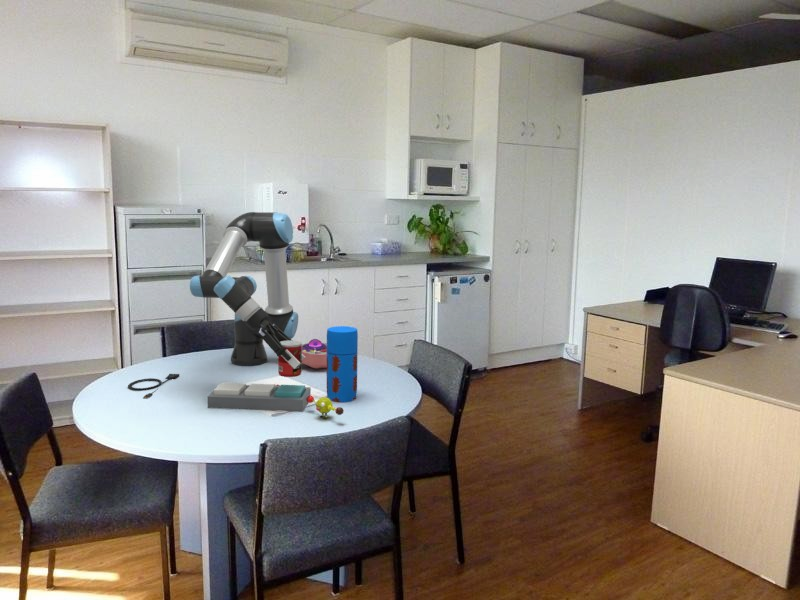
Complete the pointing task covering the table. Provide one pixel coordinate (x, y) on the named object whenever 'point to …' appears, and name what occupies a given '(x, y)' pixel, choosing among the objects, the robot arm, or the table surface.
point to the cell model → (315, 354)
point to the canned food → (283, 365)
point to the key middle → (260, 390)
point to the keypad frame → (258, 401)
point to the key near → (230, 389)
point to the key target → (290, 391)
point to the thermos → (342, 363)
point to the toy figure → (324, 406)
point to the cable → (169, 377)
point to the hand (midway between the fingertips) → (299, 362)
